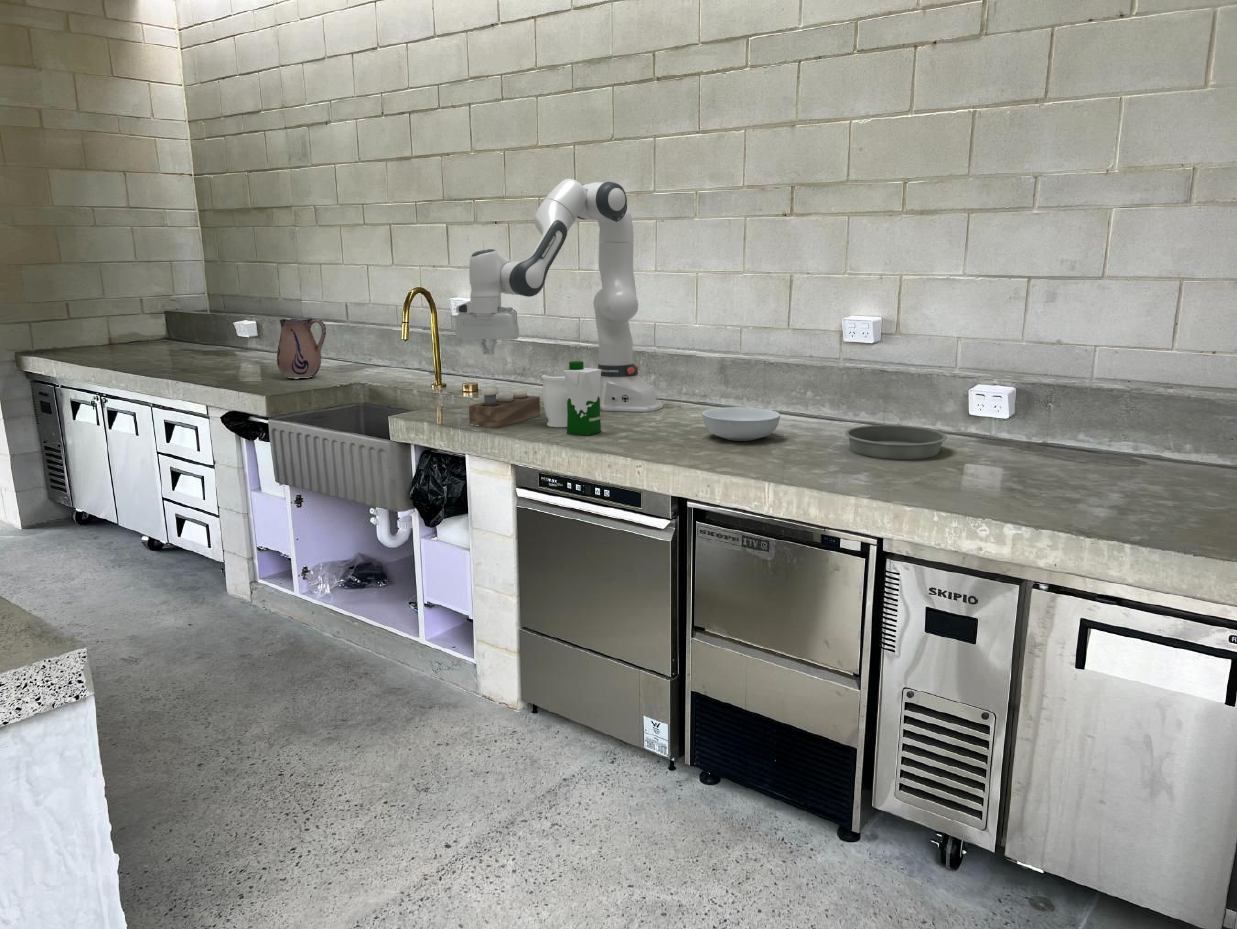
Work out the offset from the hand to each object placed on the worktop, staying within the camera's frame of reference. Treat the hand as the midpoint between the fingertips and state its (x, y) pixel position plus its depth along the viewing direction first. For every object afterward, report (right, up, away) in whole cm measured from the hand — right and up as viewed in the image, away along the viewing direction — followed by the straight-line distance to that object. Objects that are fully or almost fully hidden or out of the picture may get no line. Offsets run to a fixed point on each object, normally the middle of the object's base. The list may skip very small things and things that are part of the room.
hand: (488, 354), depth 273 cm
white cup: (+21, -21, +2) cm, 30 cm away
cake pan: (+108, -29, -39) cm, 118 cm away
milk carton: (+29, -24, -10) cm, 38 cm away
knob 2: (+7, -16, +18) cm, 25 cm away
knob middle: (+4, -17, +11) cm, 21 cm away
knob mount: (+4, -19, +12) cm, 22 cm away
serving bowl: (+72, -25, -20) cm, 79 cm away
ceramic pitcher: (-94, +4, +120) cm, 153 cm away
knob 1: (0, -16, +4) cm, 16 cm away
